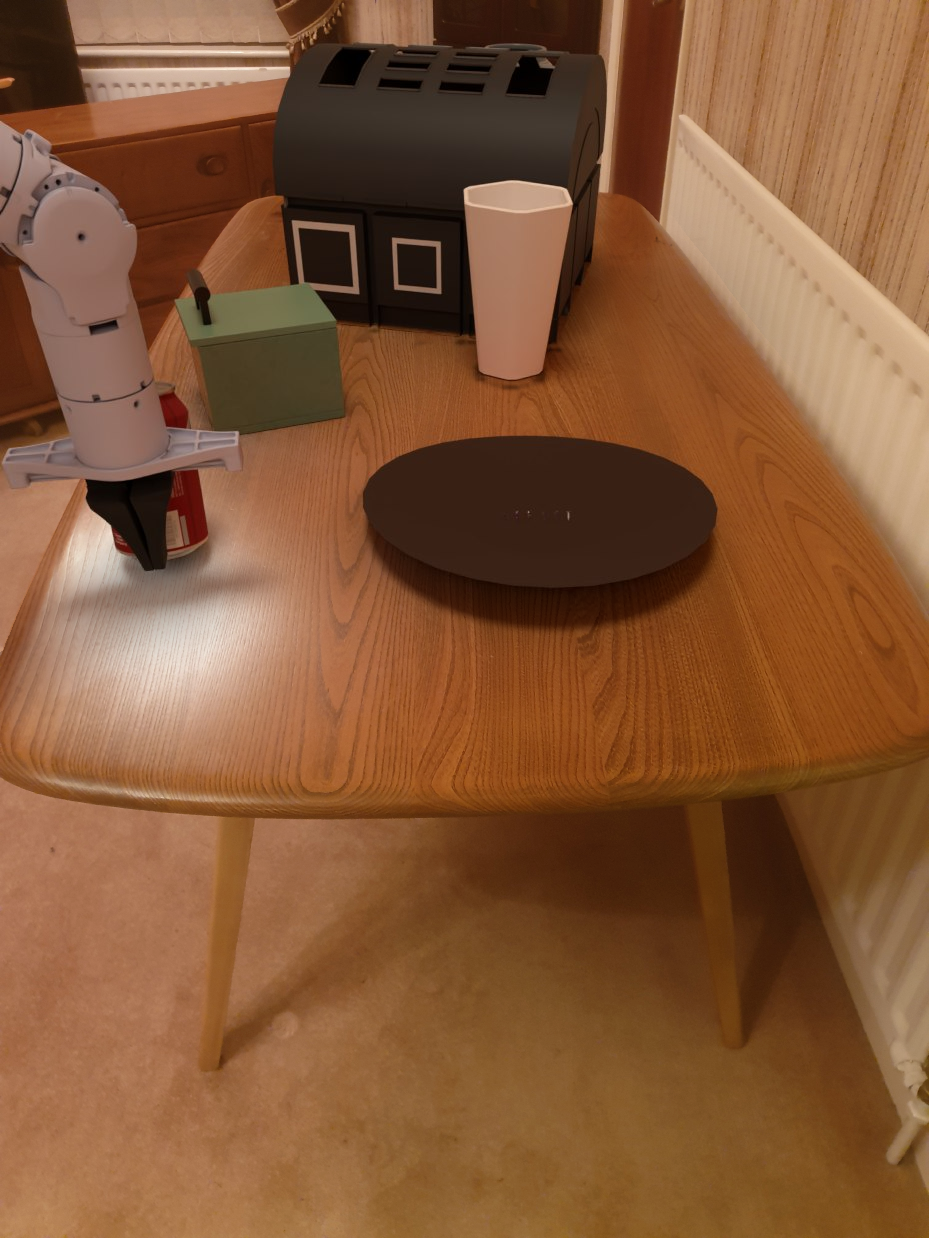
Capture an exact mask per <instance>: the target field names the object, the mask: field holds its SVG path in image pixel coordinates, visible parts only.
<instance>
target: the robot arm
mask: <svg viewBox="0 0 929 1238" xmlns="http://www.w3.org/2000/svg"><path fill="white" fill-rule="evenodd" d="M52 146H53V145H52V143H51V142H50V140H47V139H46V138H44V137H43V136H42V135H40V134H38V133H37V132H36V131H33V130H31V129H26V130H25V131H24V134H22V133H20V132H19V131H17V130H15V129H14V128H12V127H11V126H9V125H8V124H6V123H5V122H3V121H2V120H0V248H1V249H2V250H3V251H4V252H5V253H6V254H8V255H9V256H11V257H17V258H18V259H20V260H21V261H22V262H24V264H20V265H19V266H18V270H19V274H20V276H21V277H20V278H21V279H22V283H23V287H24V289H25V292H26V295H27V298H28V302H29V304H30V309H31V319H32V321H33V325H34V327H35V331H36V333H37V337H38V340H39V343H40V345H41V348H42V349H41V350H42V352H43V355H44V359H45V361H46V364H47V368H48V371H49V374H50V376H51V380H52V383H53V386H54V389H55V393H56V396H57V399H58V401H59V406H60V408H61V411H62V416H63V417H64V418H63V419H64V420H65V424H66V427H67V430H68V433H69V436H67V437H63V438H60V439H55V440H50V441H47V442H41V443H37V444H31V445H25V446H18V447H17V446H16V447H8V449H7V450H6V453H5V454H4V457H3V459H2V461H1V463H0V464H1V467H2V470H3V472H4V474H5V477H6V479H7V482H8V485H9V487H10V489H11V490H20V489H21V490H22V489H27V488H29V487H30V486H31V484H32V483H45V482H55V481H56V482H57V481H58V482H59V481H69V480H81V479H82V480H85V484H86V486H85V487H86V490H87V492H86V494H85V502H86V505H87V506H88V508H89V509H90V510H91V511H92V512H93V513H95V514H96V515H98V516H99V517H100V518H101V519H103V520H104V522H106V523H107V524H108V525H109V526H110V527H111V526H112V527H113V528H114V529H115V530H116V531H117V533H118V534H119V535H120V536H121V537H122V538H123V539H124V541H125V542H126V543H127V544H128V546H129V547H130V549H131V550H132V551H133V553H134V554H135V556H136V557H137V559H138V560H137V559H136V560H137V561H138V562H139V564H140V566H141V568H142V569H143V571H144V572H152V571H163V570H165V569H166V567H167V561H168V560H167V555H168V553H167V545H166V516H167V509H168V505H169V501H170V497H171V493H172V488H173V482H174V477H175V471H183V470H196V469H198V470H207V469H218V468H225V471H226V472H229V473H231V472H243V469H244V451H243V446H242V440H241V436H240V435H241V434H239V431H231V432H215V431H213V430H202V429H192V428H191V429H182V428H172V427H166V424H165V420H164V416H163V412H162V408H161V404H160V400H159V396H158V391H157V387H156V383H155V381H156V380H155V376H154V375H155V374H154V371H153V366H152V363H151V358H150V355H149V350H148V346H147V342H146V338H145V333H144V330H143V325H142V322H141V317H140V313H139V310H138V304H137V302H136V300H135V297H134V293H133V289H132V285H131V280H130V277H129V272H130V270H131V268H132V267H133V264H134V261H135V258H136V254H137V249H138V231H137V227H136V225H135V224H133V223H130V221H128V218H127V215H126V212H125V211H124V209H123V208H121V206H120V205H119V204H120V202H119V200H118V199H117V198H116V196H115V195H114V194H113V193H112V192H111V191H110V190H109V189H108V188H107V187H106V186H104V185H103V184H101V183H100V182H99V181H97V180H95V179H92V177H89V176H87V175H85V174H83V173H81V172H80V171H78V170H76V169H74V168H72V167H70V166H68V165H67V164H65V163H63V162H62V160H61V159H60V158H59V157H58V156H57V155H56V154H52V153H51V151H52V148H53V147H52Z"/></svg>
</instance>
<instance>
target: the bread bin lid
mask: <svg viewBox="0 0 929 1238" xmlns="http://www.w3.org/2000/svg"><path fill="white" fill-rule="evenodd" d="M185 278H186V282H187V283H188V285H189V287H190V290H191V292H192V295H193V296H191V297H183V298H175V299H174V305H175V308H176V311H177V314H178V316H179V319H180V322H181V325H182V327H183V330H184V332H185V335H186V338H187V341H188V343H189V346H191V347H199V346H206V345H213V344H220V343H227V342H235V341H242V340H249V339H256V338H264V337H271V336H278V335H285V334H292V333H300V332H307V331H314V330H321V329H328V328H338V324H337V322H336V319H335V318H334V316H333V315H332V314H331V312H330V311H329V310H328V308H327V307H326V306H325V304H324V303H323V301H322V300H321V299H320V297H319V296H318V295H317V293H316V292H315V291H314V289H313V288H312V287H311V285H310V284H309V283H305V284H297V285H290V284H289V285H282V286H273V287H266V288H258V289H249V290H241V291H233V292H224V293H217V294H211V291H210V289H209V287H208V285H207V283H206V281H205V278H204V276H203V274H202V273H201V271H200V270H199V269H197V268H191V269H189V270H188V271H187V272H186V277H185ZM191 347H190V348H191Z"/></svg>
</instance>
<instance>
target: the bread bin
mask: <svg viewBox="0 0 929 1238" xmlns="http://www.w3.org/2000/svg"><path fill="white" fill-rule="evenodd" d="M189 346H190V345H189ZM190 352H191V356H192V361H193V366H194V371H195V376H196V381H197V384H198V390H199V395H200V397H201V400H202V402H203V405H204V408H205V412H206V413H207V417H208V420H209V422H210V424H211V427H212V431H215V432H231V431H239V434H240V435H246V434H250V433H251V434H252V433H258V432H263V431H270V430H274V429H280V428H286V427H287V428H288V427H292V426H298V425H303V424H304V425H305V424H311V423H316V422H322V421H328V420H333V419H334V420H335V419H339V418H345V417H346V411H345V401H344V389H343V388H344V387H343V379H342V367H341V357H340V344H339V333H338V327H336V328H328V329H321V330H314V331H307V332H300V333H292V334H285V335H278V336H271V337H264V338H256V339H249V340H242V341H235V342H227V343H220V344H213V345H206V346H199V347H191V346H190Z"/></svg>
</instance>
